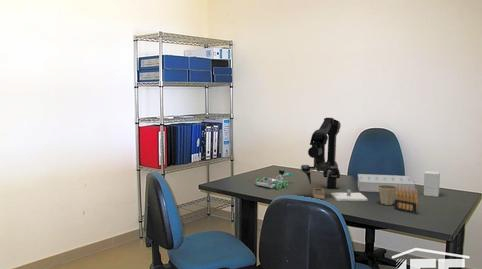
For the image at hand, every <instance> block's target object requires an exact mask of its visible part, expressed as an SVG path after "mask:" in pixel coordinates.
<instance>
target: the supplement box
mask: <svg viewBox="0 0 482 269" xmlns="http://www.w3.org/2000/svg"><path fill="white" fill-rule="evenodd" d="M423 174H424V176H423V177H424V178H423V196H427V197H439V196H440V182H441V181H440V180H441V179H440V178H441V171H432V170H431V171H430V170H425V172H424V173H423Z"/></svg>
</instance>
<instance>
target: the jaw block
mask: <svg viewBox="0 0 482 269" xmlns="http://www.w3.org/2000/svg"><path fill="white" fill-rule="evenodd" d="M325 191H326V190H324V188H322V187H313V188H312V196H313V198H314V199H325Z"/></svg>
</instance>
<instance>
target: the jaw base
mask: <svg viewBox="0 0 482 269" xmlns="http://www.w3.org/2000/svg"><path fill="white" fill-rule="evenodd" d="M330 194H331V197H333V198H334V200H335V201H337V202H339V201H343V202H344V201H349V202H350V201H353V202H354V201H357V202H359V201H367V202H368V198H367V197H366V196H365V195H364V194H363V193H361V192H352V190H351V189H347V190H346V192H331V193H330Z"/></svg>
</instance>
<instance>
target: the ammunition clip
mask: <svg viewBox="0 0 482 269" xmlns="http://www.w3.org/2000/svg"><path fill="white" fill-rule="evenodd" d="M418 198H419V197H418V188H417V187H415V194H414V190H413V187H412V189H411V193H410V188H409V187H408V189H407V193H406V187H404V192H403V189H402V186H401V187H400V193H399V186H398V185H397V188H396V193H395V198H394V206H393V210H395V211H399V212H405V213H409V214H414V215H418V214H419V203H418Z"/></svg>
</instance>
